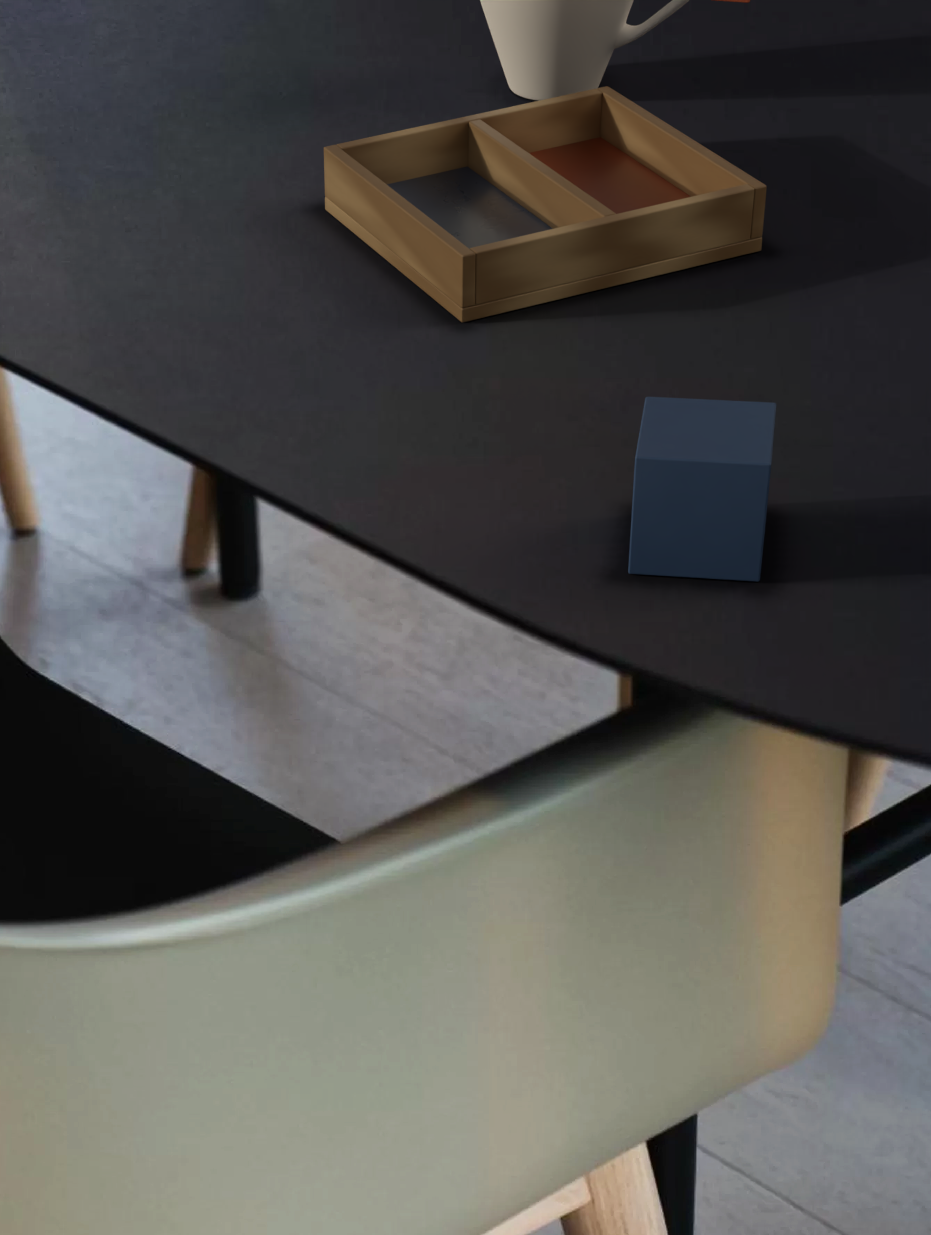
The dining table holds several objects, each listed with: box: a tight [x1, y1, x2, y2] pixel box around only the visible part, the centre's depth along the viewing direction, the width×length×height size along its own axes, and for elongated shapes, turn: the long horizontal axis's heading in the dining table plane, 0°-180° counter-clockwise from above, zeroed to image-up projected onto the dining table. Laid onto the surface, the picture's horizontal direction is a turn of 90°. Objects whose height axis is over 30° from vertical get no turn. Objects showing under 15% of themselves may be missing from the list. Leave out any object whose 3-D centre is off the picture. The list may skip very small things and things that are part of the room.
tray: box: [323, 85, 768, 323], centre depth 106 cm, size 14×13×3 cm
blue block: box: [627, 396, 777, 583], centre depth 85 cm, size 4×4×4 cm
